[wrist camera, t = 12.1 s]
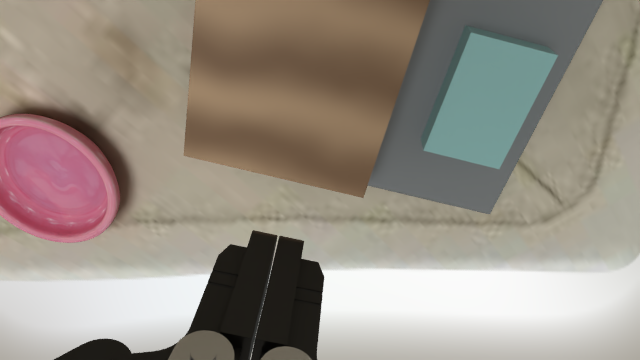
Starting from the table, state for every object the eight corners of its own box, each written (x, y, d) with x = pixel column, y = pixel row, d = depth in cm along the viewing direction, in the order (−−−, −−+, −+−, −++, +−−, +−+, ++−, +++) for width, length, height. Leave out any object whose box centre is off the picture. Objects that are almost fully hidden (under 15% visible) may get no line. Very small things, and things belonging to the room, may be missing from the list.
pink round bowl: (5, 209, 45) (-17, 229, 42) (-21, 89, 38) (-50, 104, 35) (133, 234, 45) (118, 255, 42) (128, 119, 38) (110, 136, 36)
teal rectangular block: (558, 55, 30) (547, 46, 32) (471, 32, 30) (465, 25, 32) (499, 169, 35) (492, 156, 37) (423, 150, 35) (420, 138, 36)
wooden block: (223, -121, 29) (205, -123, 25) (439, -64, 29) (449, -58, 26) (199, 132, 38) (183, 155, 35) (363, 171, 39) (363, 197, 35)
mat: (452, -79, 29) (453, -79, 29) (618, -35, 29) (621, -34, 29) (365, 182, 39) (365, 184, 39) (488, 211, 40) (489, 214, 40)
